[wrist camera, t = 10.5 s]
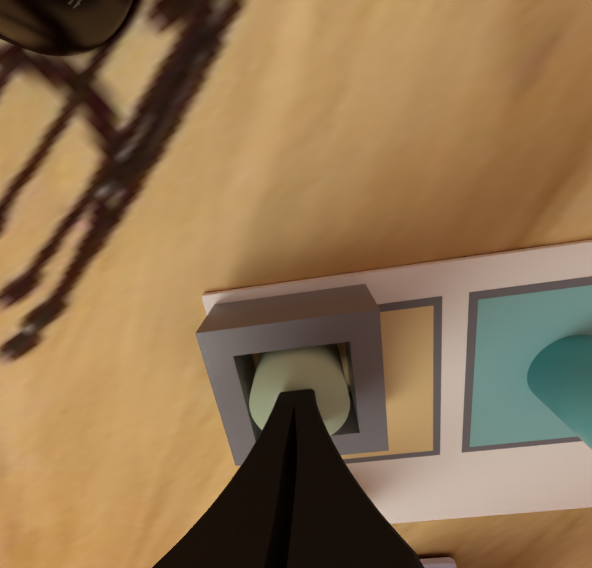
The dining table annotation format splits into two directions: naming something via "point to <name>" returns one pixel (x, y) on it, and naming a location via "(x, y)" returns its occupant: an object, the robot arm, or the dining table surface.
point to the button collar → (288, 335)
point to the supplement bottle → (61, 24)
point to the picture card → (468, 382)
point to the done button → (302, 382)
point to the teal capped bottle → (566, 382)
